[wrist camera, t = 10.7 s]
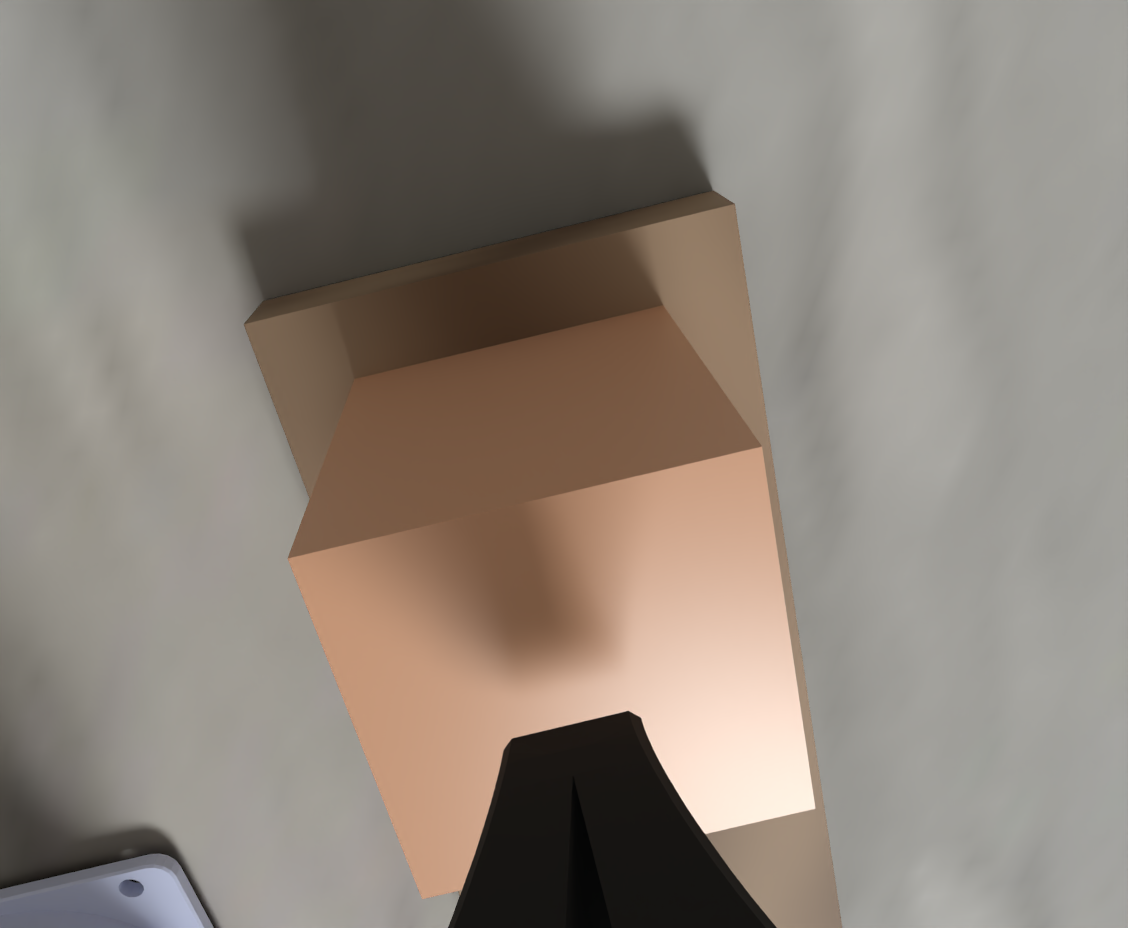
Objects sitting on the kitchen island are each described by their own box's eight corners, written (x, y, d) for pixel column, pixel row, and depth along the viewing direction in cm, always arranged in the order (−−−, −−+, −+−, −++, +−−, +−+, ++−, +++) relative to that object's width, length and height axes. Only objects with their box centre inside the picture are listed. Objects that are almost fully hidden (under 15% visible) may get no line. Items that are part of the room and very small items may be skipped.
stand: (514, 988, 24) (524, 1268, 18) (263, 301, 17) (156, 428, 11) (827, 916, 24) (930, 1176, 18) (713, 190, 16) (830, 264, 11)
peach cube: (439, 636, 18) (422, 898, 12) (354, 379, 16) (287, 558, 10) (712, 572, 18) (815, 808, 12) (663, 305, 16) (761, 446, 10)
